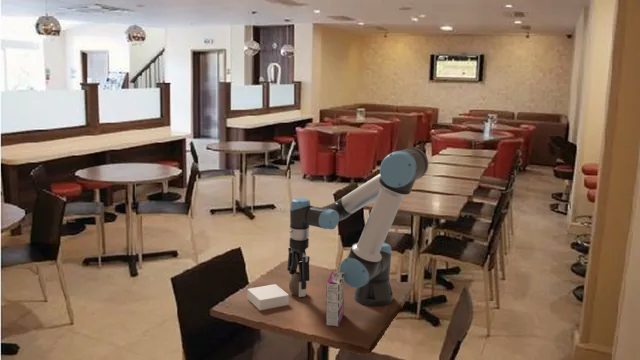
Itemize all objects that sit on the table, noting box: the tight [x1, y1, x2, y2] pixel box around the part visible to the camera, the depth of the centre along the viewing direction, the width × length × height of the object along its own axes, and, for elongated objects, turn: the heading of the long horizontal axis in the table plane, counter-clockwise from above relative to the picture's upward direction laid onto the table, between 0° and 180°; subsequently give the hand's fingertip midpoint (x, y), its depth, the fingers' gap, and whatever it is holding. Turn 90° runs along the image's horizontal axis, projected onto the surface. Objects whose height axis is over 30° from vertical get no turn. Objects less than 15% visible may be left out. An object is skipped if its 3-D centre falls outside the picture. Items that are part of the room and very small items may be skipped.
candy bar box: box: [325, 271, 345, 327], centre depth 207 cm, size 11×5×16 cm, turn 169°
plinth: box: [246, 283, 290, 311], centre depth 222 cm, size 12×12×4 cm
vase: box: [288, 271, 307, 297], centre depth 231 cm, size 7×7×9 cm
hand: (297, 292), depth 231 cm, fingers closed on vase, 7 cm apart
